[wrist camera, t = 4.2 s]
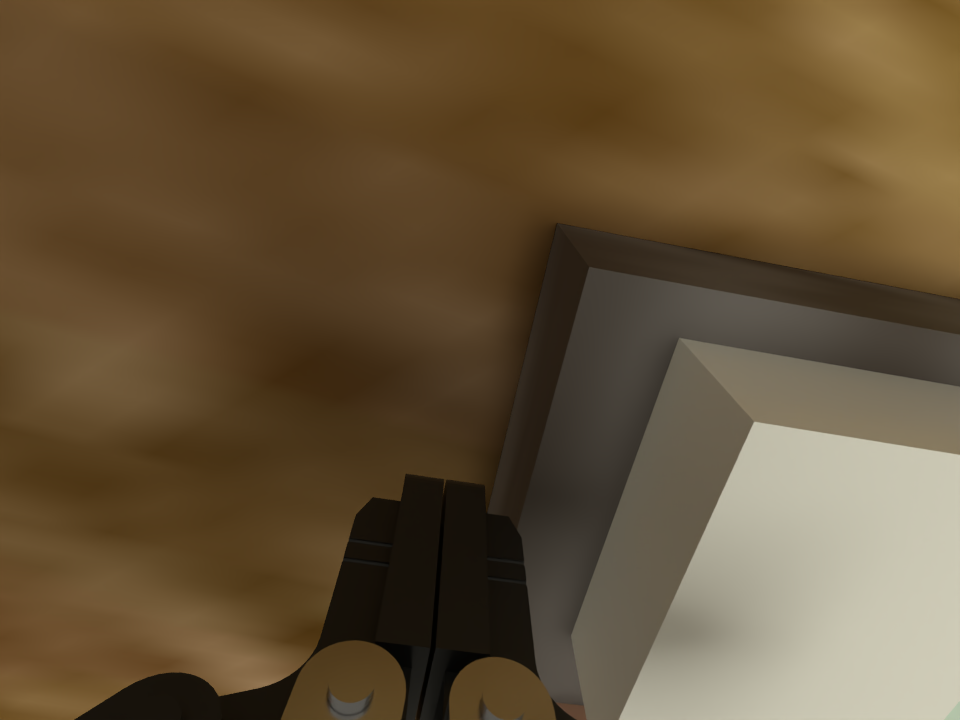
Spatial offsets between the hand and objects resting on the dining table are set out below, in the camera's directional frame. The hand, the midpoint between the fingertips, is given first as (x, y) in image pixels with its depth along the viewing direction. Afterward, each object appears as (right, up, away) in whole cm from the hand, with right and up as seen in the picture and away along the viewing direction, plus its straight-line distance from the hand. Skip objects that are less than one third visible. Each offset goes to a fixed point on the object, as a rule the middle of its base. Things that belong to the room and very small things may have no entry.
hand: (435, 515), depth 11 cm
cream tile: (+7, -1, +2) cm, 7 cm away
